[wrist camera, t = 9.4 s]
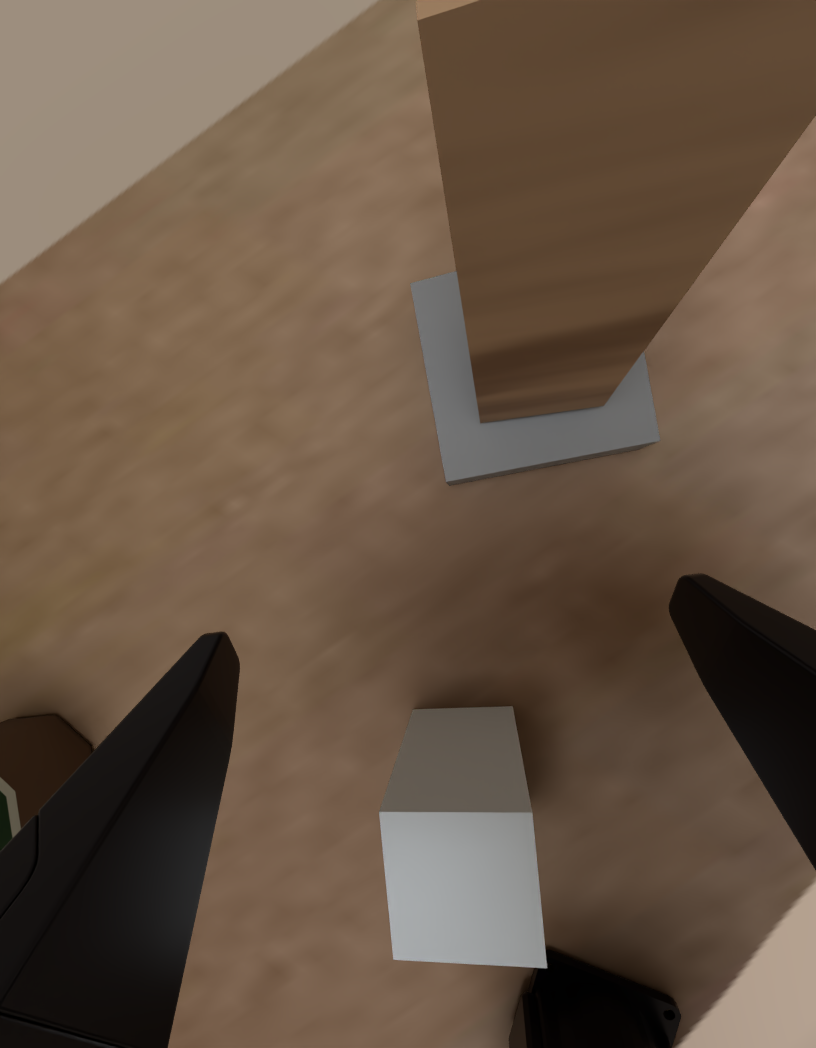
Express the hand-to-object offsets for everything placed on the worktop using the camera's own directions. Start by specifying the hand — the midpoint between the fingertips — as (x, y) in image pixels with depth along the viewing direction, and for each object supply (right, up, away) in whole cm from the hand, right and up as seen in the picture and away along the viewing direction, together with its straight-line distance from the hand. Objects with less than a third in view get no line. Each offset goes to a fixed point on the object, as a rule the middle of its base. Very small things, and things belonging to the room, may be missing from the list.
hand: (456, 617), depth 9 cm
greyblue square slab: (+5, +9, +13) cm, 17 cm away
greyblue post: (+2, -10, +14) cm, 17 cm away
